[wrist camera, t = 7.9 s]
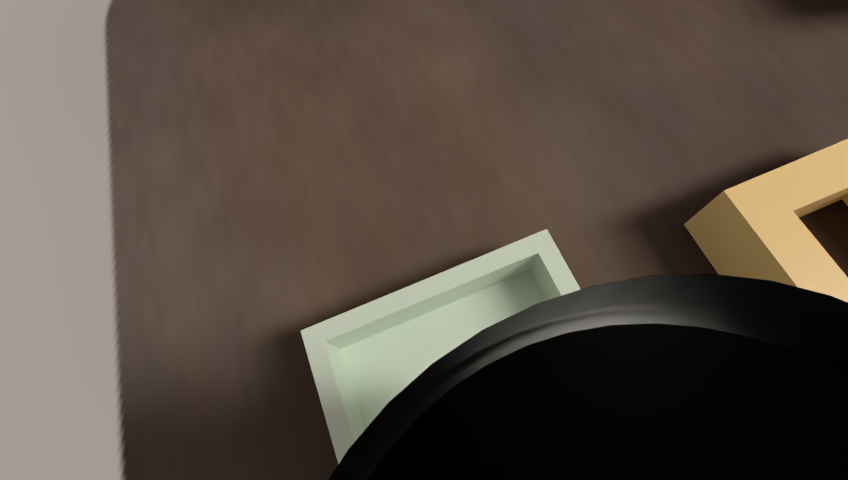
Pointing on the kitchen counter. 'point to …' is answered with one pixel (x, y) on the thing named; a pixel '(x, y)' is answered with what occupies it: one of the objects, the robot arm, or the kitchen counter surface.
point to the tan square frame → (777, 224)
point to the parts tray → (423, 329)
